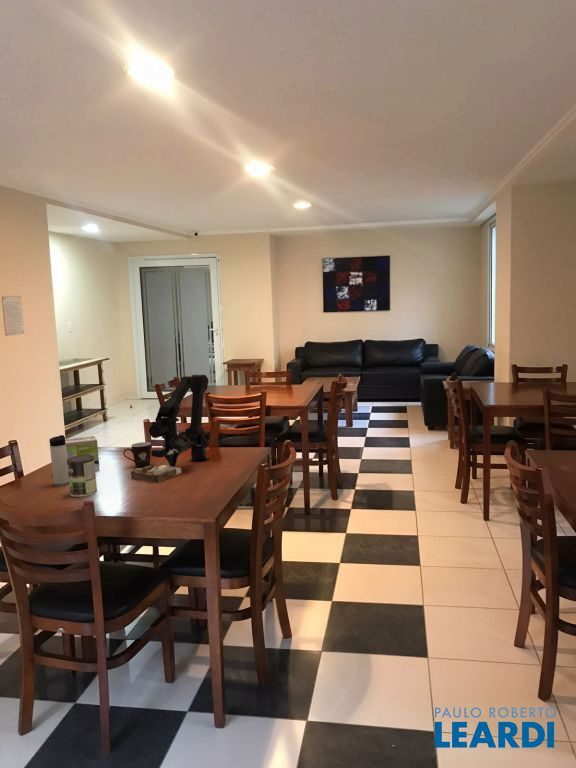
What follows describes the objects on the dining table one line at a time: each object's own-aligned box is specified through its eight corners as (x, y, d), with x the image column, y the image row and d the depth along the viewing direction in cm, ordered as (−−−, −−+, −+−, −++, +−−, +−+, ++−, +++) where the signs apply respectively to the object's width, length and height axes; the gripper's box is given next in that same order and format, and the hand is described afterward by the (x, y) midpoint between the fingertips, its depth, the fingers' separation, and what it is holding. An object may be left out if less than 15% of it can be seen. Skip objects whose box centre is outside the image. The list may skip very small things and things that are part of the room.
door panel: (163, 470, 271) (162, 462, 270) (181, 473, 264) (180, 465, 264) (151, 474, 265) (150, 466, 265) (169, 478, 259) (168, 469, 258)
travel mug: (73, 481, 259) (68, 435, 257) (63, 486, 253) (58, 438, 251) (61, 481, 261) (56, 434, 259) (50, 485, 255) (45, 438, 253)
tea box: (64, 477, 268) (61, 443, 266) (62, 471, 277) (59, 439, 275) (100, 471, 274) (97, 439, 272) (97, 466, 283) (94, 435, 281)
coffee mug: (155, 463, 283) (153, 441, 282) (149, 468, 275) (147, 446, 273) (130, 463, 284) (128, 442, 283) (123, 469, 276) (121, 447, 274)
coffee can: (72, 498, 236) (69, 462, 234) (68, 492, 244) (64, 457, 243) (100, 493, 240) (96, 458, 239) (94, 487, 249) (91, 453, 248)
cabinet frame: (151, 471, 268) (150, 462, 268) (176, 476, 259) (175, 465, 259) (131, 478, 259) (130, 468, 259) (156, 483, 250) (155, 472, 250)
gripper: (167, 439, 254) (170, 476, 256) (199, 430, 269) (201, 465, 271) (149, 437, 260) (152, 472, 262) (180, 428, 275) (183, 462, 277)
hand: (173, 468), depth 268 cm, fingers closed
